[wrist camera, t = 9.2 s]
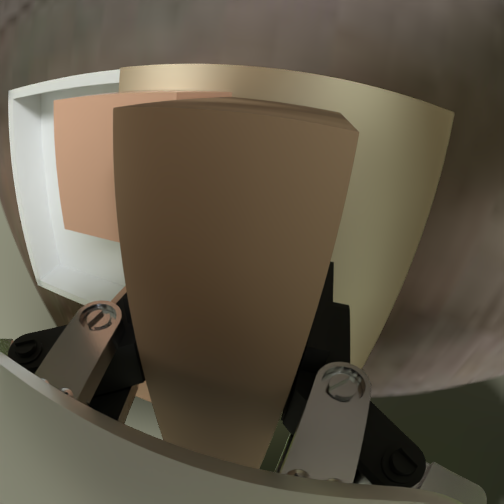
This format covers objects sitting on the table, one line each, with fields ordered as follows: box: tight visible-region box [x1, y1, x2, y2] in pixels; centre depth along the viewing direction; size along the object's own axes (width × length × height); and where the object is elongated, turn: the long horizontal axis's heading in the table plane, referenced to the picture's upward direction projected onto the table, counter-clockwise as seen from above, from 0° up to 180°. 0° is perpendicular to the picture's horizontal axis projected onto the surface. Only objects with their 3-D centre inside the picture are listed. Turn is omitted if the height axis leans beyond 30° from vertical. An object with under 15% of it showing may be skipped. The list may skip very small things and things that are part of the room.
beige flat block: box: [119, 64, 454, 369], centre depth 14 cm, size 12×14×4 cm
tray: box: [8, 70, 125, 305], centre depth 16 cm, size 10×14×3 cm
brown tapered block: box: [113, 97, 359, 469], centre depth 9 cm, size 4×12×6 cm, turn 173°
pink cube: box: [54, 90, 232, 243], centre depth 9 cm, size 4×4×4 cm
